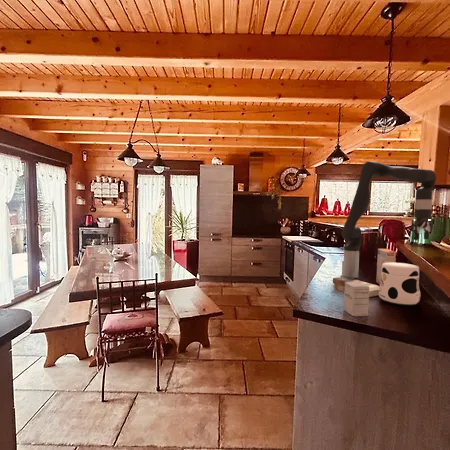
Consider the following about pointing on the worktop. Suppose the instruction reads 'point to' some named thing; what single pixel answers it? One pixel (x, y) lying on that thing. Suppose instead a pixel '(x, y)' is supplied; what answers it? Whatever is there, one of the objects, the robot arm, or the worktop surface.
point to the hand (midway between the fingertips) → (421, 239)
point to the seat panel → (372, 288)
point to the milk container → (400, 284)
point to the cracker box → (384, 261)
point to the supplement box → (356, 298)
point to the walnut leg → (340, 281)
